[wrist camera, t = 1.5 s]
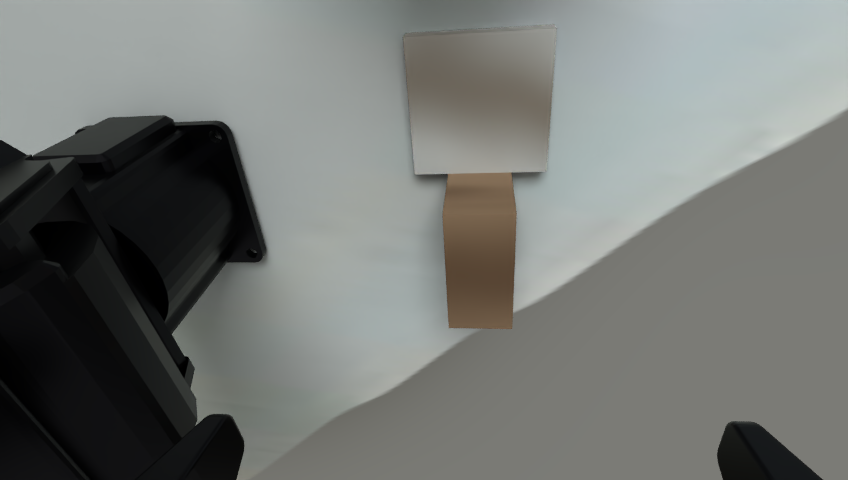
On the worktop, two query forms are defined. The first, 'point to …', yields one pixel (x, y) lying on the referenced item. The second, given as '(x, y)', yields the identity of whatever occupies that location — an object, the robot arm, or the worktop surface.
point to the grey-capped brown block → (480, 150)
